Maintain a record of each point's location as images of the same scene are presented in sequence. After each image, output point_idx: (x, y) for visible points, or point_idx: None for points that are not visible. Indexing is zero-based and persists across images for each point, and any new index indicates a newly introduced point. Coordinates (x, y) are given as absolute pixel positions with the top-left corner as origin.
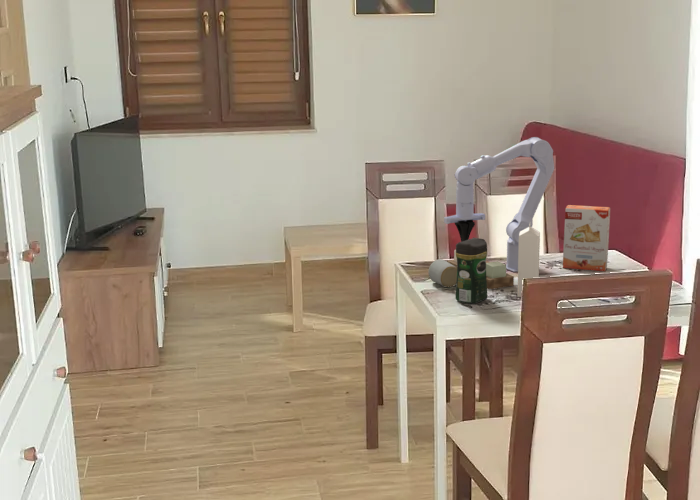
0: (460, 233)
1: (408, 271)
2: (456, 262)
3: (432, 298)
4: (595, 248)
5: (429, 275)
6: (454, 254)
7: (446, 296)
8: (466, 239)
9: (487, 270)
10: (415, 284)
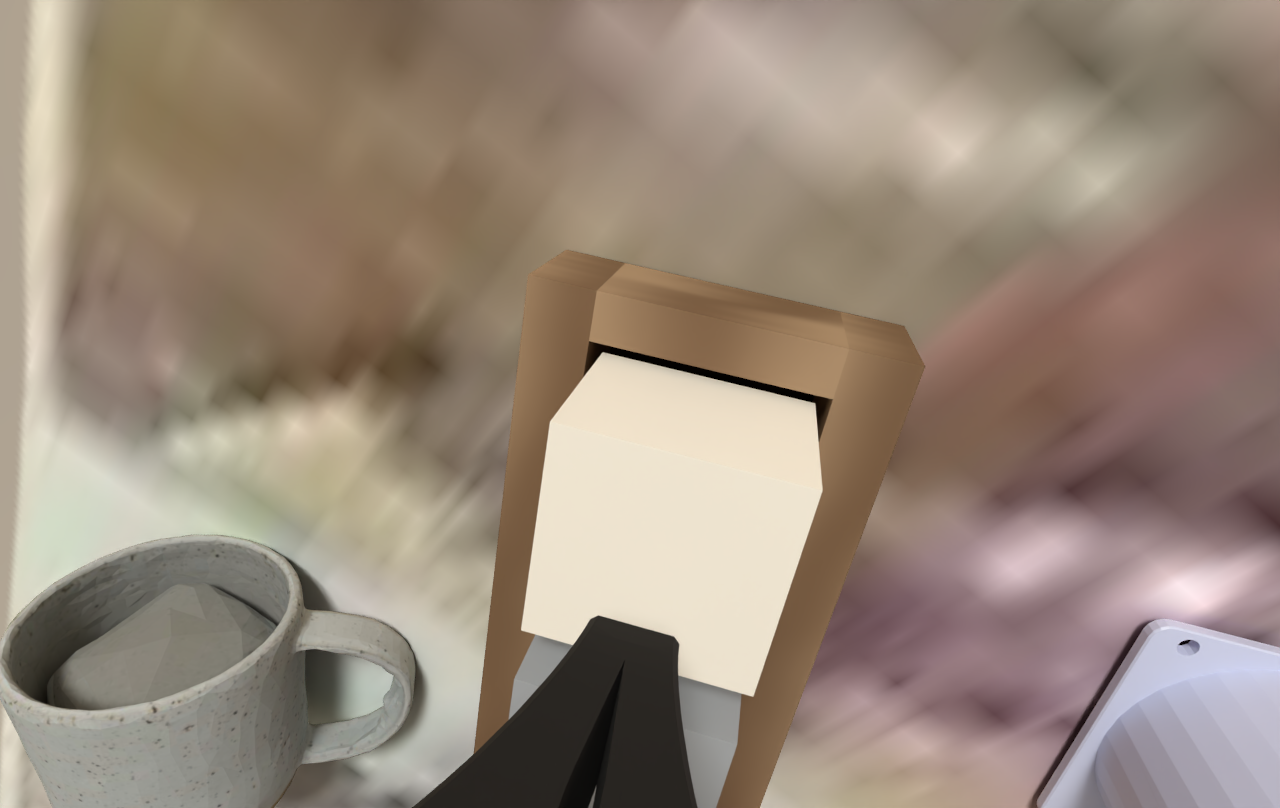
0: (508, 772)
1: (114, 16)
2: None
3: None
4: None
5: (86, 577)
6: (570, 401)
7: None
8: (593, 803)
9: None
10: (47, 464)
